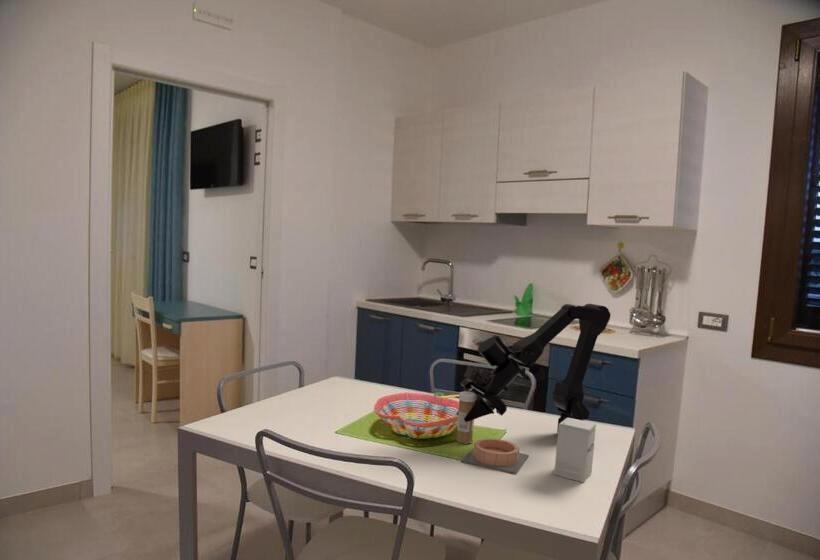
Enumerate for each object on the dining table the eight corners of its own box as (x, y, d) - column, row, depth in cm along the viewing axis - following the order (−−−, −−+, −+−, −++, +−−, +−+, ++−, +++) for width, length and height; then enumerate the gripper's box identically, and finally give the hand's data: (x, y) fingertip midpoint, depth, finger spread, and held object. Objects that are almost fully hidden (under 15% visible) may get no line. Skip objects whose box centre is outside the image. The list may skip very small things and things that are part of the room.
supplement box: (584, 483, 134) (589, 430, 133) (553, 474, 138) (557, 423, 137) (592, 473, 140) (597, 422, 140) (562, 466, 144) (566, 416, 144)
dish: (529, 456, 149) (530, 443, 149) (516, 474, 137) (517, 460, 136) (477, 445, 155) (478, 433, 155) (460, 461, 142) (461, 448, 142)
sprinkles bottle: (476, 442, 158) (479, 393, 157) (465, 445, 154) (468, 396, 154) (463, 437, 161) (466, 390, 160) (452, 440, 158) (455, 392, 157)
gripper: (469, 350, 166) (430, 389, 163) (499, 364, 149) (457, 407, 146) (491, 377, 169) (454, 415, 166) (524, 394, 152) (483, 437, 149)
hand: (461, 418), depth 157 cm, fingers closed on sprinkles bottle, 4 cm apart
